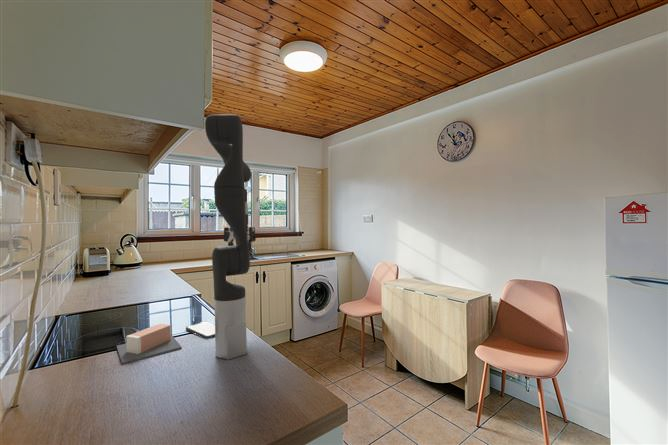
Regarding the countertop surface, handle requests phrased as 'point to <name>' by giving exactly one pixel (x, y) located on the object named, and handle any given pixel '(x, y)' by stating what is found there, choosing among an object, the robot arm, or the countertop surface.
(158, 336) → the terracotta block
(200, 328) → the phone case
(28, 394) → the countertop surface
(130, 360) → the charcoal mat
